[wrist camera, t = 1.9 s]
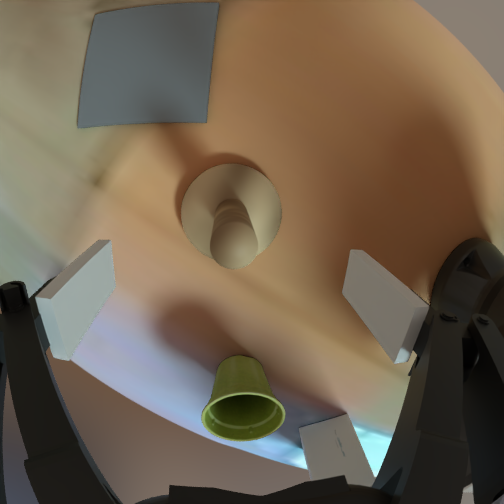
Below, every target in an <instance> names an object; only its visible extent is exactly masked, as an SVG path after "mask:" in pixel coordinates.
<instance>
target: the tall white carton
mask: <svg viewBox="0 0 504 504" xmlns="http://www.w3.org/2000/svg"><path fill="white" fill-rule="evenodd" d="M299 433H300V438H301V443H302V448H303V452H304V456H305V460H306V464H307V468H308V471H309V475H310V479H311V481H314V480H320V479H326V478H331V477H336V476H341V475H345V477H346V480H347V483H348V484H355V485H363V486H368V487H371V486H372V485H373V483H374V481H375V478H374V475H373V472H372V470H371V468H370V465H369V463H368V460H367V458H366V456H365V453H364V451H363V448H362V446H361V444H360V441H359V439H358V437H357V434H356V432H355V430H354V427H353V425H352V423H351V420H350V418H349V416H348V414H345V415H342V416H339V417H335V418H332V419H329V420H325V421H322V422H318V423H315V424H311V425H307V426H303V427H300V428H299Z"/></svg>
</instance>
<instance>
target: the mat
mask: <svg viewBox="0 0 504 504" xmlns="http://www.w3.org/2000/svg"><path fill="white" fill-rule="evenodd" d="M218 10H219V3H175V4H161V5H151V6H142V7H134V8H128V9H121V10H116V11H110V12H105V13H100V14H96V15H95V18H94V22H93V26H92V30H91V35H90V39H89V44H88V49H87V54H86V60H85V66H84V72H83V79H82V86H81V94H80V103H79V114H78V128H87V127H96V126H108V125H121V124H139V123H207V112H208V100H209V89H210V78H211V68H212V59H213V50H214V41H215V33H216V25H217V18H218Z"/></svg>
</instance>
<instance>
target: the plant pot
mask: <svg viewBox="0 0 504 504" xmlns="http://www.w3.org/2000/svg"><path fill="white" fill-rule="evenodd" d="M284 419H285V409H284V407H283V405H282V404H281V403H280V401H278V400H277V399H276V397H275V396H274V395H273V393H272V391H271V388H270V386H269V383H268V381H267V378H266V376H265V373H264V371H263V368H262V366H261V364H260V363H259V362H258V361H257V360H256V359H254V358H250V357H245V356H242V355H237V356H232V357H229V358H227V359H225V360H224V361H222V362H221V363H220V365H219V367H218V369H217V373H216V377H215V382H214V386H213V391H212V395H211V399H210V400H209V402H208V404H207V405H206V406H205V408H204V409H203V411H202V416H201V420H202V423H203V425H204V427H205V428H206V429H207V430H208V431H209V432H210V433H211V434H213V435H215V436H217V437H219V438H222V439H226V440H230V441H251V440H257V439H260V438H263V437H266V436H268V435H270V434H272V433H273V432H275V431H276V430H277V429H278V428H279V427H280V426H281V425H282V423H283V422H284Z"/></svg>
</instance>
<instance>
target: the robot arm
mask: <svg viewBox="0 0 504 504" xmlns="http://www.w3.org/2000/svg"><path fill="white" fill-rule="evenodd" d="M115 287H116V284H115V275H114V266H113V256H112V244H111V240H98V241H97V242H95V243H94V244H93V245H92V246H91V247H89V248H88V249H87V250H86V251H85V252H84V253H82V254H81V255H80V256H79V257H78V258H77V259H75V260H74V261H73V262H72V263H71V264H70V265H69V266H68V267H66V268H65V269H64V270H63V271H62V272H61V273H60V274H59V275H58V276H56V277H54V278H52V279H50V280H48V281H47V282H46V283H45V284H44V285H43V286H42V287H41V288H39V289H38V291H36V292H35V293H34V294H33V295H32V296H31V297H30V298H28V294H27V290H26V286H25V284H24V282H21V281H12V282H8V283H5V284H3V285H1V286H0V308H1V311H2V314H0V504H7V502H6V495H5V485H4V475H3V453H2V431H3V430H2V429H3V410H4V396H5V388H6V379H7V372H8V378H9V383H10V389H11V395H12V400H13V404H14V409H15V412H16V417H17V420H18V424H19V428H20V432H21V435H22V438H23V442H24V445H25V448H26V451H27V454H28V459H27V460H24V466H25V469H26V473H27V475H28V478H29V480H30V483H31V486H32V488H33V491H34V493H35V495H36V498H37V500H38V502H39V504H123V503H122V502H121V501H120V499H119V498H118V497H117V496H116V494H115V493H114V491H113V490H112V489H111V487H110V485H109V484H108V482H107V481H106V479H105V478H104V476H103V475H102V473H101V472H100V470H99V469H98V467H97V465H96V463H95V462H94V460H93V458H92V456H91V455H90V453H89V451H88V449H87V447H86V446H85V444H84V442H83V440H82V438H81V436H80V434H79V432H78V430H77V428H76V426H75V424H74V422H73V420H72V418H71V416H70V413H69V411H68V409H67V407H66V404H65V402H64V400H63V397H62V395H61V393H60V390H59V388H58V385H57V383H56V380H55V377H54V375H53V372H52V369H51V366H50V364H49V360H48V358H47V355H46V350H47V349H48V347H49V346H50V348H51V351H52V354H53V357H54V358H58V359H63V360H68V361H69V360H70V358H71V356H72V355H73V353H74V351H75V350H76V348H77V346H78V345H79V343H80V341H81V340H82V338H83V336H84V335H85V333H86V332H87V330H88V328H89V327H90V325H91V324H92V322H93V320H94V319H95V317H96V316H97V314H98V313H99V311H100V310H101V308H102V307H103V305H104V303H105V302H106V300H107V299H108V297H109V296H110V294H111V293H112V292H113V290H114V289H115ZM342 294H343V295H344V297H345V298H346V299H347V301H348V302H349V303H350V305H351V306H352V307H353V308H354V310H355V311H356V312H357V314H358V315H359V316H360V318H361V319H362V320H363V322H364V323H365V324H366V326H367V327H368V328H369V330H370V331H371V333H372V334H373V335H374V337H375V338H376V339H377V341H378V342H379V343H380V345H381V346H382V348H383V349H384V350H385V352H386V353H387V354H388V356H389V357H390V359H391V360H392V361H393V363H394V364H396V363H402V362H408V360H409V358H410V356H411V353H412V351H413V350H414V352H415V353H416V354H417V357H416V359H415V361H414V364H413V366H412V368H411V370H410V372H409V374H408V376H411V377H410V381H409V385H408V389H407V393H406V396H405V400H404V403H403V407H402V410H401V413H400V416H399V420H398V423H397V426H396V429H395V432H394V434H393V437H392V440H391V443H390V445H389V448H388V451H387V453H386V456H385V458H384V461H383V463H382V466H381V468H380V471H379V473H378V475H377V477H376V479H375V481H374V483H373V485H372V486H371V487H368V486H363V485H355V484H348V483H347V480H346V477H345V475H341V476H336V477H331V478H326V479H320V480H314V481H308V482H304V483H301V484H298V485H295V486H293V487H290V488H287V489H284V490H281V491H278V492H275V493H271V494H268V495H264V496H256V495H249V494H243V493H238V492H232V491H227V490H222V489H217V488H207V487H187V486H174V485H170V486H169V487H170V488H169V495H161V496H157V497H152V498H149V499H145V500H142V501H140V502H138V503H135V504H460V503H461V499H462V494H463V492H472V493H473V495H474V503H475V504H504V256H503V254H502V253H501V252H500V251H499V250H498V249H497V247H496V246H494V245H493V244H492V243H490V242H488V241H486V240H483V239H481V238H472V239H469V240H467V241H465V242H463V243H462V244H461V245H459V246H458V247H457V248H456V249H455V250H454V251H453V252H452V253H451V254H450V256H449V257H448V258H447V260H446V261H445V263H444V265H443V266H442V268H441V270H440V272H439V274H438V276H437V279H436V282H435V285H434V288H433V292H432V298H431V306H430V305H429V304H428V303H426V302H425V301H423V299H422V298H421V297H420V296H418V295H417V294H416V293H415V292H414V291H413V290H411V289H409V288H408V287H407V286H406V285H404V284H403V283H402V282H401V281H400V280H399V279H397V278H396V277H395V276H394V275H393V274H391V273H390V272H389V271H388V270H387V269H385V268H384V267H383V266H382V265H380V264H379V263H378V262H377V261H376V260H374V259H373V258H372V257H371V256H369V255H368V254H367V253H366V252H364V251H363V250H355V249H351V250H350V255H349V261H348V266H347V271H346V276H345V281H344V285H343V290H342Z"/></svg>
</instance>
